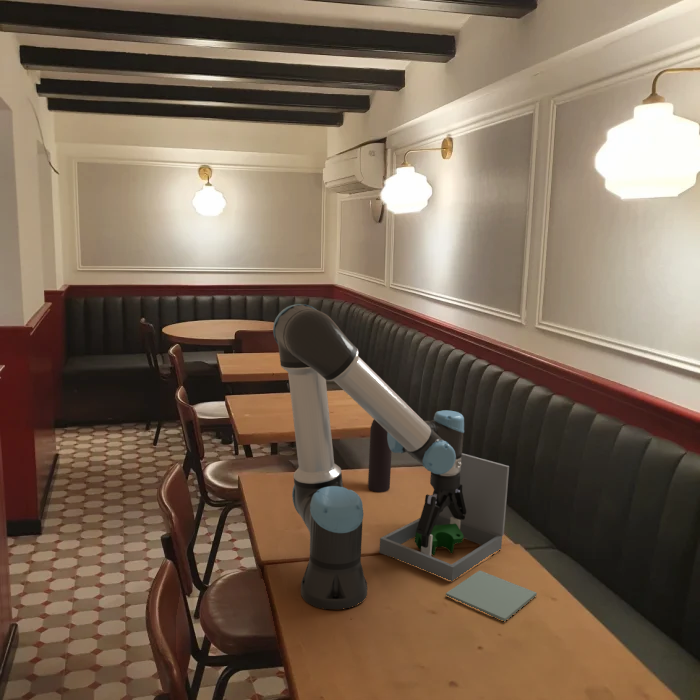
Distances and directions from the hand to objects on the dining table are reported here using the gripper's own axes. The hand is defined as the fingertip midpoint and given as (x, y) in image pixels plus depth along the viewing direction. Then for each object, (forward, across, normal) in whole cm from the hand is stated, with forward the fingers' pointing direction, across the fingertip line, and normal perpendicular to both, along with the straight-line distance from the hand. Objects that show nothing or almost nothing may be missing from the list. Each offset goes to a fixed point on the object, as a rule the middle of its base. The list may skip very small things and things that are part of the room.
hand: (440, 549), depth 179 cm
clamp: (0, 0, 0) cm, 0 cm away
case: (0, 0, 0) cm, 0 cm away
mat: (0, -11, -21) cm, 24 cm away
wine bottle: (+1, +23, +39) cm, 45 cm away
